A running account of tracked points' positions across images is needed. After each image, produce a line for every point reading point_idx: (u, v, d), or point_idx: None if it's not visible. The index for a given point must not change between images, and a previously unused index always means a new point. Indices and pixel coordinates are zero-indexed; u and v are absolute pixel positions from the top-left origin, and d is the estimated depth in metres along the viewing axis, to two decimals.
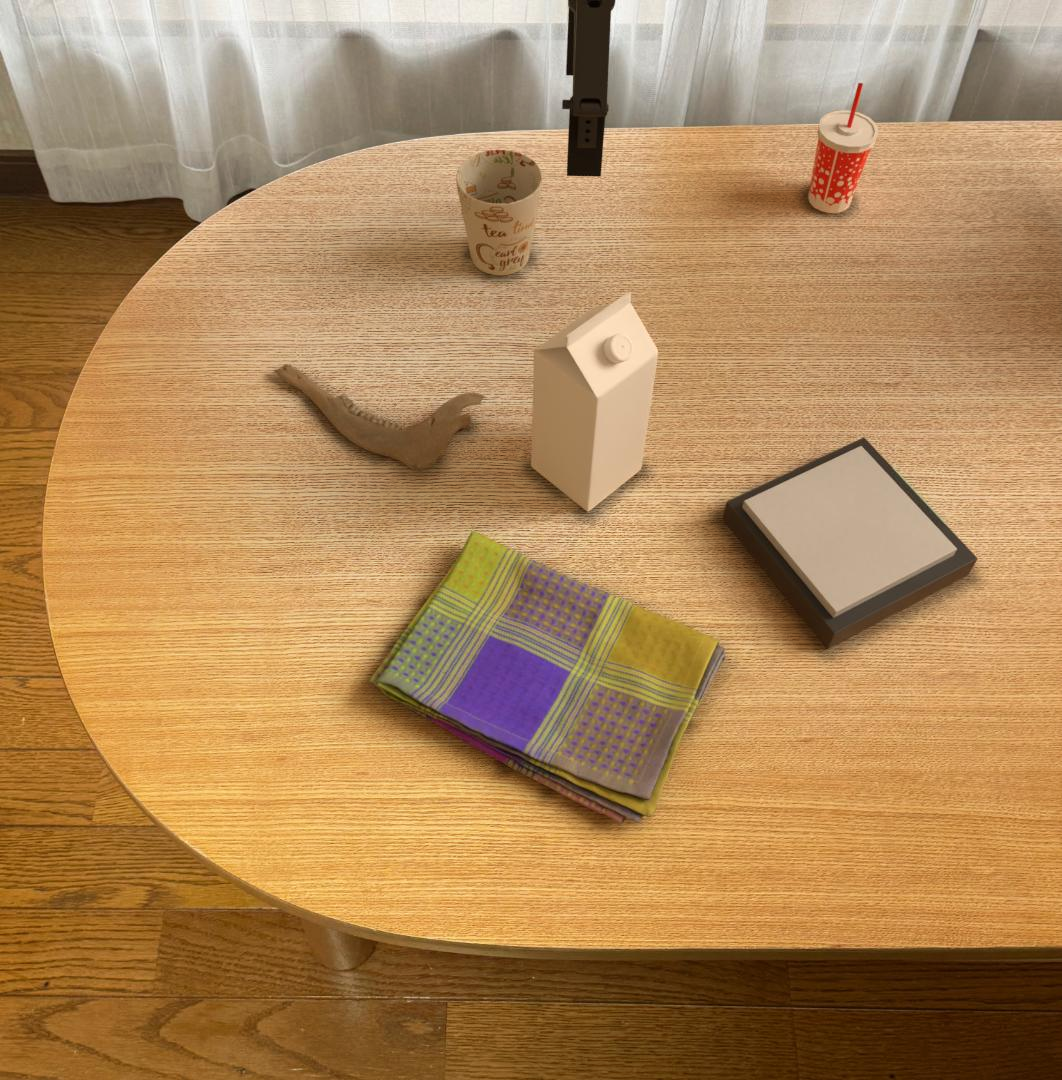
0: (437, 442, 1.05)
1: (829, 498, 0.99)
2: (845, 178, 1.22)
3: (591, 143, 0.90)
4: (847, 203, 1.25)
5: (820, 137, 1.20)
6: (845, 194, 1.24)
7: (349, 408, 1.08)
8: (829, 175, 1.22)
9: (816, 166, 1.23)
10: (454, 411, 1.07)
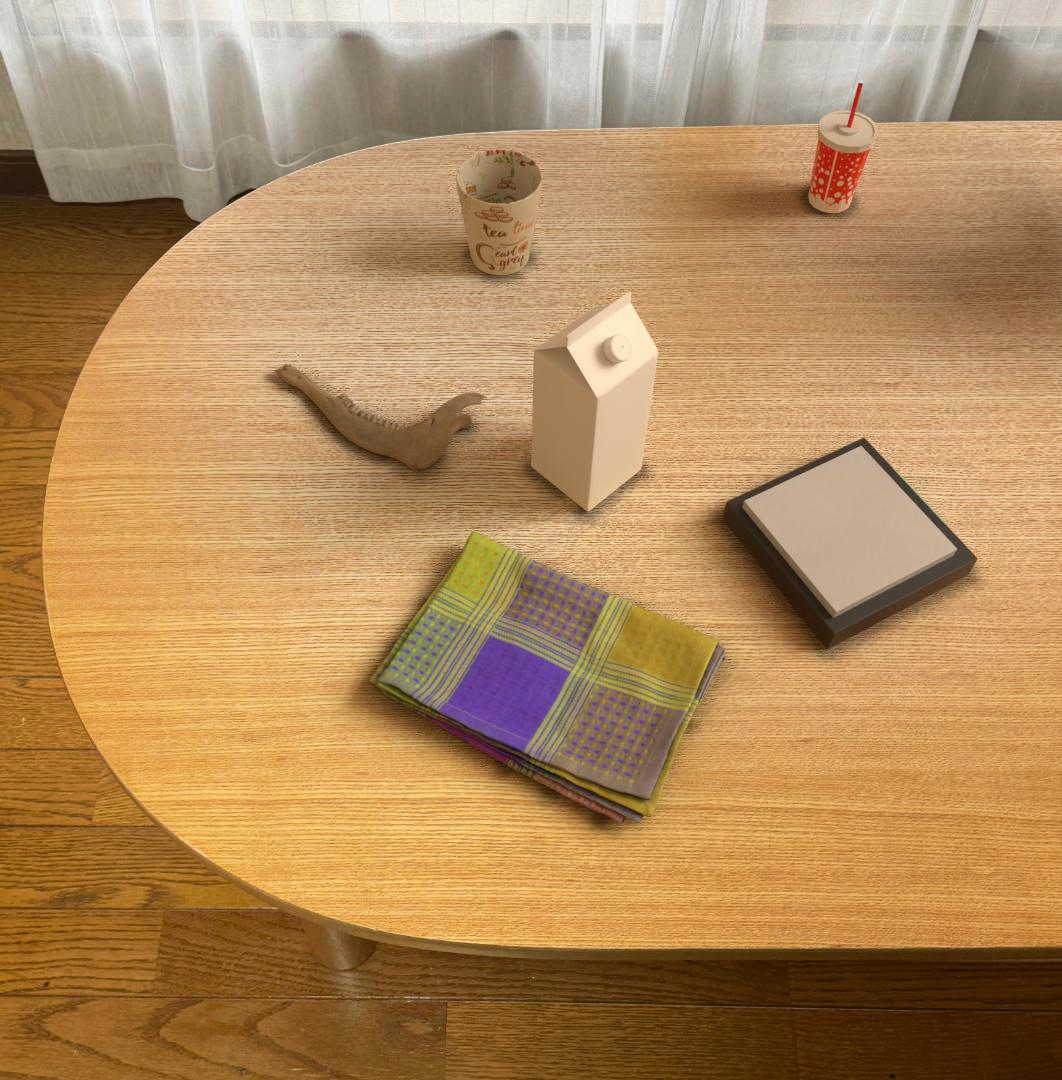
0: (437, 442, 1.05)
1: (829, 498, 0.99)
2: (845, 178, 1.22)
3: None
4: (847, 203, 1.25)
5: (820, 137, 1.20)
6: (845, 194, 1.24)
7: (349, 408, 1.08)
8: (829, 175, 1.22)
9: (816, 166, 1.23)
10: (454, 411, 1.07)
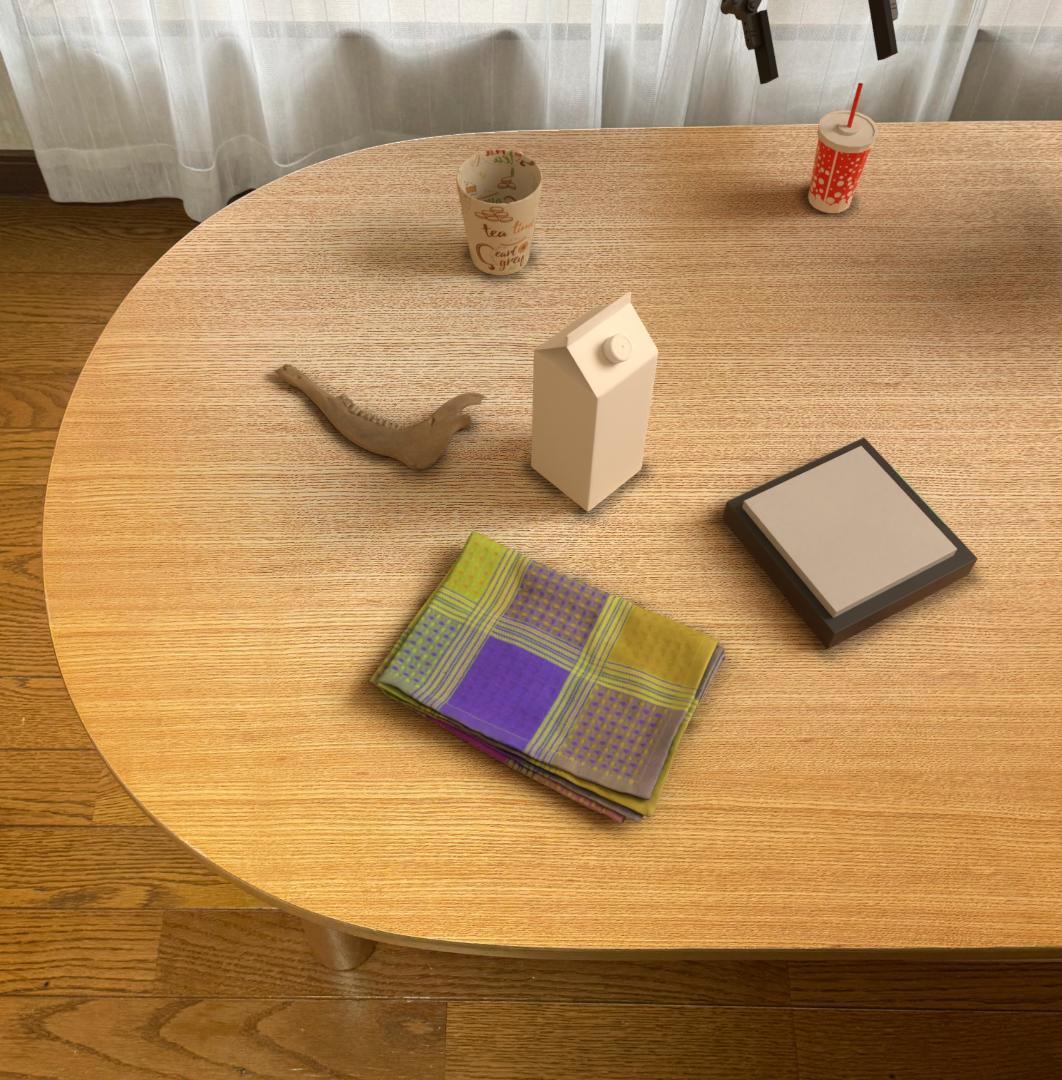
0: (437, 442, 1.05)
1: (829, 498, 0.99)
2: (845, 178, 1.22)
3: (750, 42, 1.18)
4: (847, 203, 1.25)
5: (820, 137, 1.20)
6: (845, 194, 1.24)
7: (349, 408, 1.08)
8: (829, 175, 1.22)
9: (816, 166, 1.23)
10: (454, 411, 1.07)
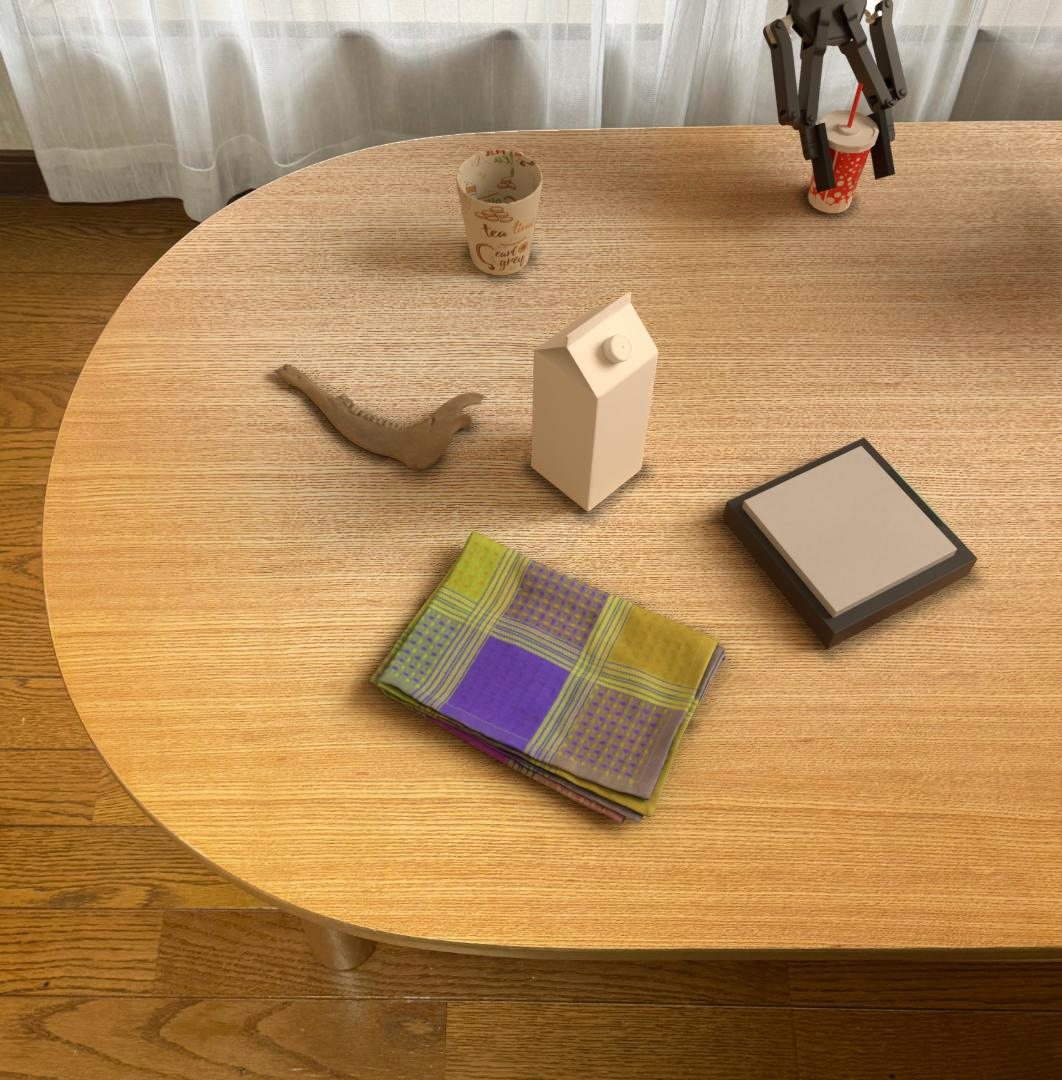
0: (437, 442, 1.05)
1: (829, 498, 0.99)
2: (845, 178, 1.22)
3: (808, 154, 1.19)
4: (847, 203, 1.25)
5: None
6: (845, 194, 1.24)
7: (349, 408, 1.08)
8: None
9: None
10: (454, 411, 1.07)
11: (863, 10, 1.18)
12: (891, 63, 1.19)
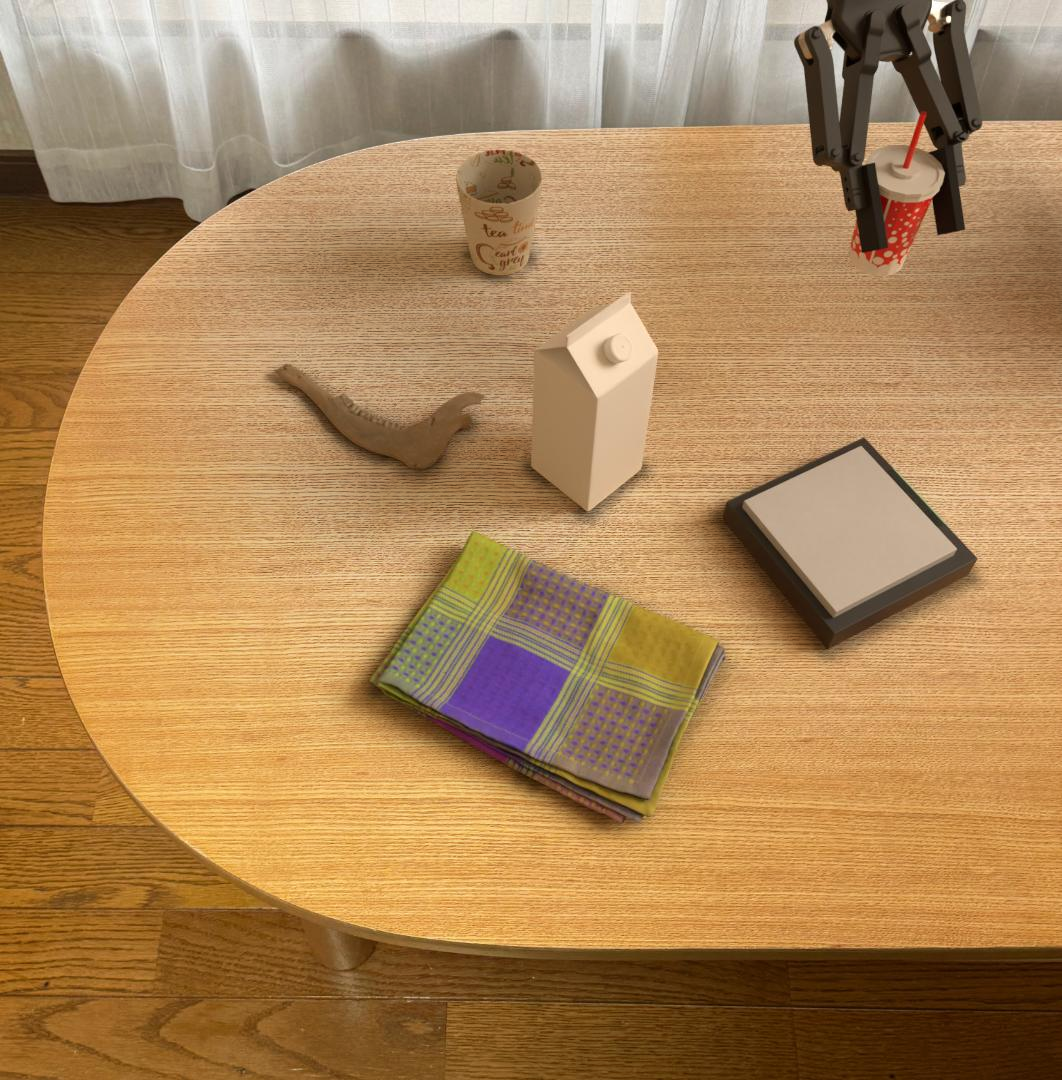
0: (437, 442, 1.05)
1: (829, 498, 0.99)
2: (899, 233, 0.94)
3: (852, 203, 0.91)
4: (900, 264, 0.97)
5: None
6: (898, 254, 0.96)
7: (349, 408, 1.08)
8: None
9: None
10: (454, 411, 1.07)
11: (927, 15, 0.89)
12: (962, 85, 0.91)
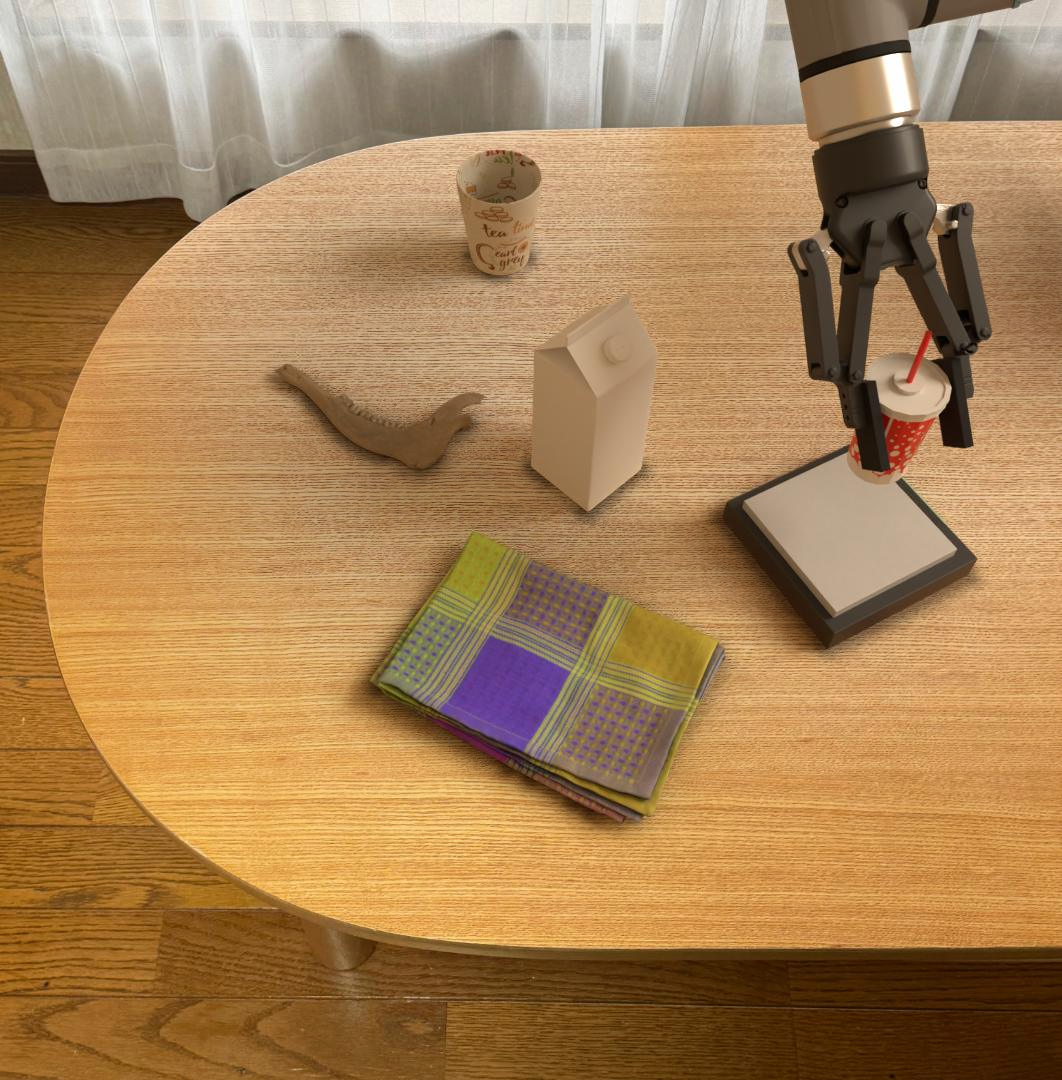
0: (437, 442, 1.05)
1: (829, 498, 0.99)
2: (902, 447, 0.86)
3: (851, 422, 0.83)
4: (902, 472, 0.90)
5: None
6: (900, 465, 0.88)
7: (349, 408, 1.08)
8: None
9: None
10: (454, 411, 1.07)
11: (931, 220, 0.82)
12: (970, 293, 0.83)
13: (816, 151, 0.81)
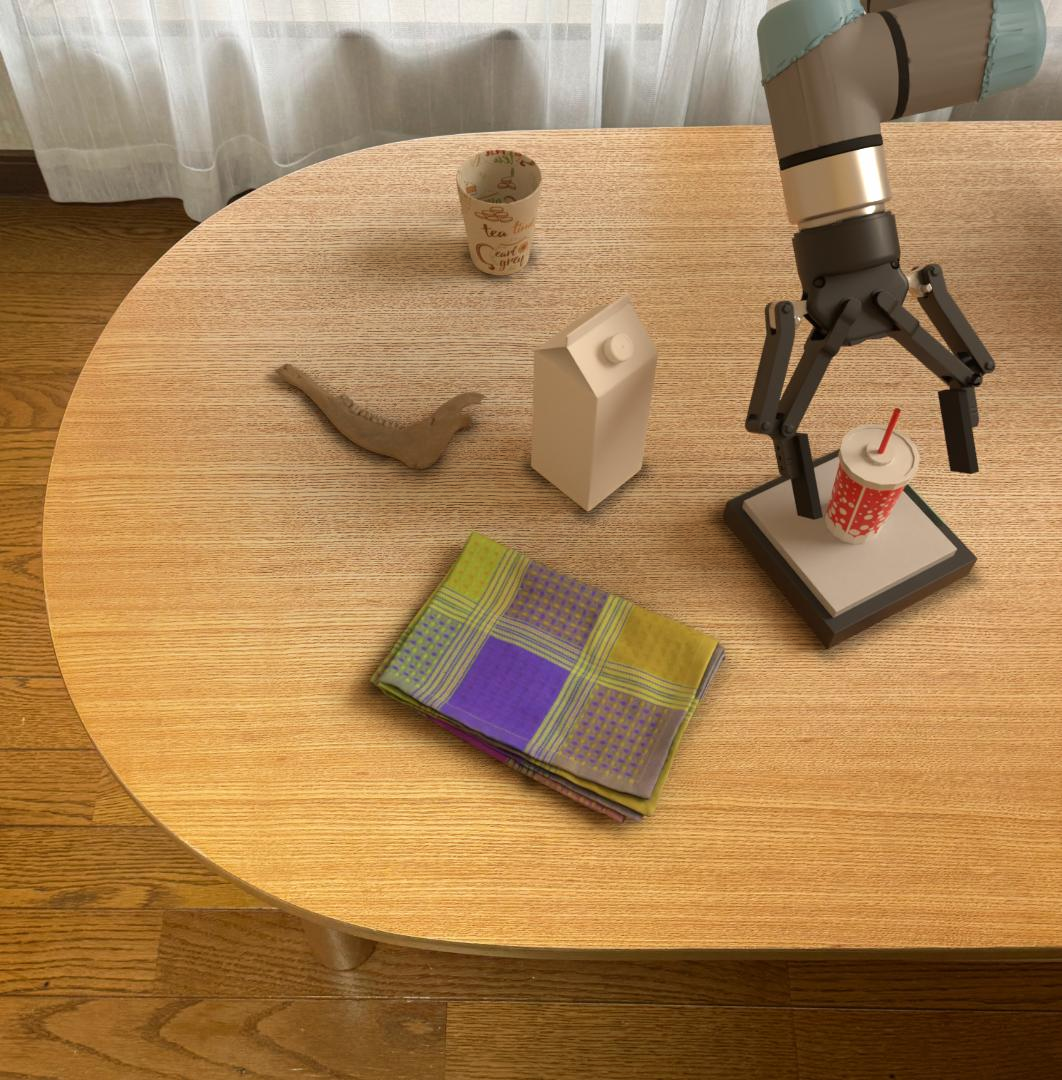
0: (437, 442, 1.05)
1: (829, 498, 0.99)
2: (875, 512, 0.93)
3: (785, 472, 0.88)
4: (876, 532, 0.96)
5: (842, 465, 0.91)
6: (874, 526, 0.95)
7: (349, 408, 1.08)
8: (853, 508, 0.93)
9: (836, 493, 0.94)
10: (454, 410, 1.07)
11: None
12: (964, 338, 0.90)
13: (795, 234, 0.87)
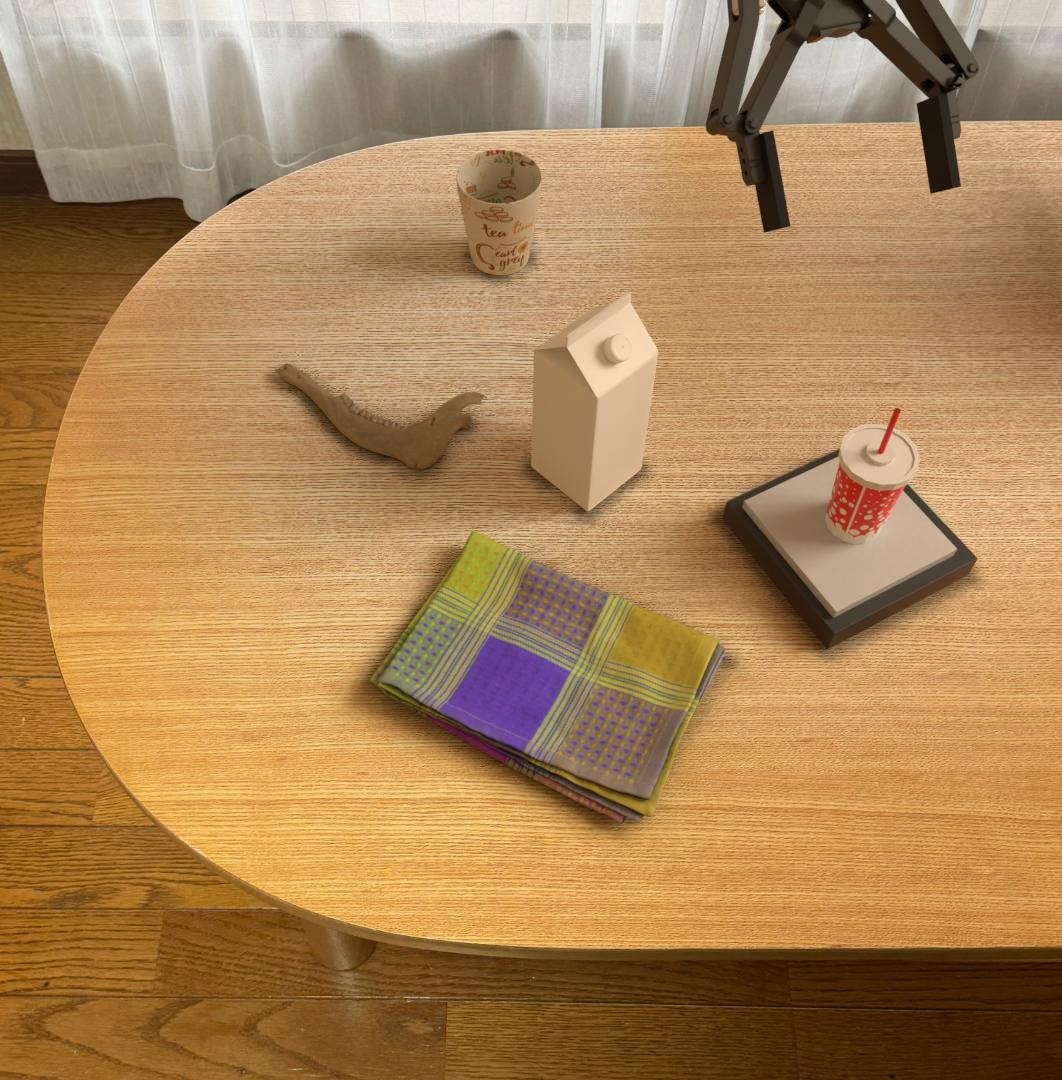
0: (437, 441, 1.05)
1: (829, 498, 0.99)
2: (875, 512, 0.93)
3: (749, 176, 0.81)
4: (876, 532, 0.96)
5: (842, 465, 0.91)
6: (874, 526, 0.95)
7: (349, 408, 1.08)
8: (853, 508, 0.93)
9: (836, 493, 0.94)
10: (454, 410, 1.07)
11: None
12: (944, 36, 0.82)
13: None
